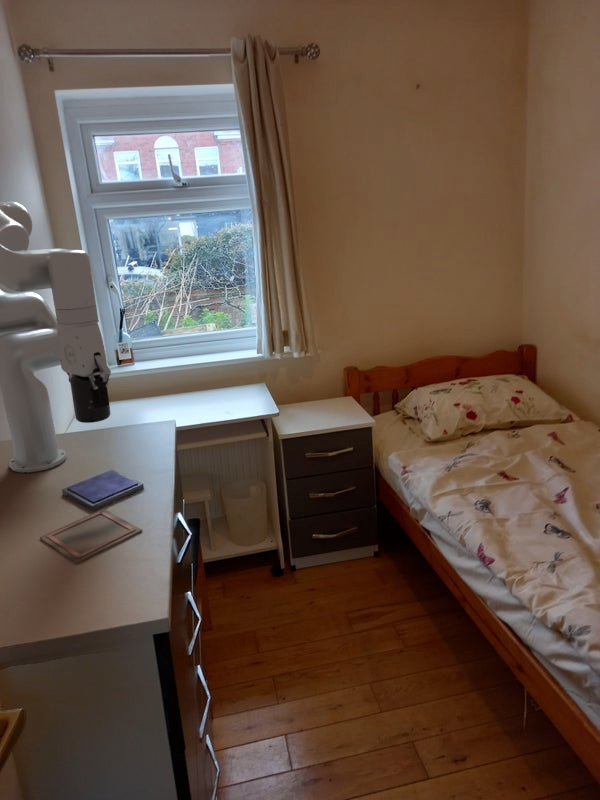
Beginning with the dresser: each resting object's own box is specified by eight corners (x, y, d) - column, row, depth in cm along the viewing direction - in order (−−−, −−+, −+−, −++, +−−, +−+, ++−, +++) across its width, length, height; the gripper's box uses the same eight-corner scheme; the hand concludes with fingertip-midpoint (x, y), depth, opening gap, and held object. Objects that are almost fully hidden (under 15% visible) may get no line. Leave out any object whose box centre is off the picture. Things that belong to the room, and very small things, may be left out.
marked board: (40, 539, 103) (39, 536, 103) (103, 510, 112) (103, 507, 112) (77, 564, 95) (76, 561, 95) (142, 531, 104) (142, 528, 104)
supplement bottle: (100, 424, 112) (91, 365, 108) (69, 423, 113) (59, 365, 109) (117, 412, 118) (109, 357, 115) (87, 412, 120) (78, 356, 116)
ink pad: (62, 494, 120) (61, 488, 119) (112, 474, 128) (111, 468, 128) (93, 511, 112) (91, 504, 112) (143, 488, 121) (143, 482, 120)
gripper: (36, 315, 112) (52, 401, 117) (83, 323, 101) (98, 416, 107) (71, 310, 117) (85, 392, 123) (120, 316, 107) (132, 406, 112)
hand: (91, 402), depth 115 cm, fingers closed on supplement bottle, 6 cm apart
